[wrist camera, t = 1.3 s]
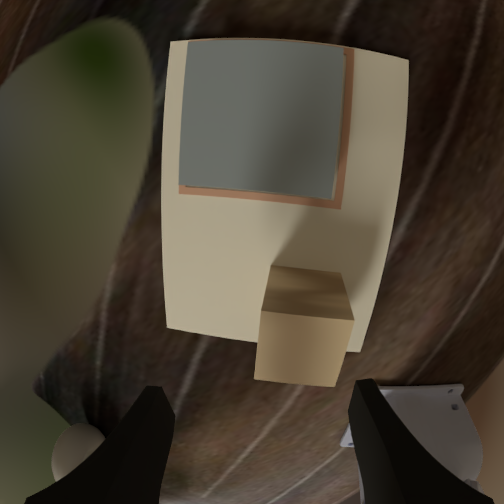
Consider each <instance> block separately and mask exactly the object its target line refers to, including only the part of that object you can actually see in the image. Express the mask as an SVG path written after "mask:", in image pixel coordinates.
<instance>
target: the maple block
mask: <svg viewBox="0 0 504 504" xmlns="http://www.w3.org/2000/svg"><path fill="white" fill-rule="evenodd" d="M354 322H355V320H354V316H353V312H352V309H351V305H350V302H349V299H348V295H347V292H346V288H345V285H344V282H343V279H342V275H341V273H338V272H329V271H320V270H311V269H302V268H293V267H284V266H276V265H271V266H270V271H269V276H268V280H267V285H266V290H265V294H264V299H263V304H262V308H261V315H260V325H259V335H258V345H257V355H256V364H255V374H254V379H258V380H265V381H273V382H282V383H292V384H302V385H314V386H328V387H335V384H336V381H337V378H338V375H339V372H340V369H341V366H342V363H343V359H344V356H345V353H346V350H347V346H348V343H349V339H350V336H351V332H352V329H353V325H354Z"/></svg>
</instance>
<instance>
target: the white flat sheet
mask: <svg viewBox="0 0 504 504" xmlns="http://www.w3.org/2000/svg"><path fill="white" fill-rule="evenodd" d="M208 40H274V41H290V42H301V43H311V44H320V45H328V46H335V47H341V48H344V51H343V75H342V93H341V108H340V121H339V133H338V144H337V154H336V164H335V173H334V182H333V190H332V198H331V199H329V198H321V197H312V196H304V195H295V194H286V193H276V192H266V191H255V190H244V189H232V188H219V187H205V186H189V185H178V183H179V152H180V131H181V114H182V100H183V87H184V76H185V65H186V55H187V46H188V42H192V41H208ZM408 81H409V60H406V59H402V58H399V57H395V56H391V55H386V54H382V53H377V52H373V51H368V50H363V49H358V48H352V47H346V46H340V45H333V44H326V43H318V42H309V41H299V40H286V39H269V38H214V39H196V40H184V41H174V42H171V44H170V53H169V62H168V71H167V82H166V94H165V108H164V124H163V145H162V187H161V212H162V254H163V276H164V293H165V307H166V320H167V328H172V329H177V330H183V331H188V332H194V333H199V334H205V335H211V336H217V337H224V338H230V339H237V340H244V341H251V342H258V335H259V325H260V315H261V308H262V304H263V299H264V294H265V290H266V285H267V280H268V276H269V271H270V266H271V265H276V266H284V267H293V268H302V269H311V270H320V271H329V272H338V273H341V275H342V279H343V282H344V285H345V288H346V292H347V295H348V299H349V302H350V305H351V309H352V312H353V316H354V320H355V322H354V325H353V329H352V332H351V336H350V339H349V343H348V346H347V350H346V351H349V352H360V350H361V347H362V344H363V341H364V338H365V335H366V331H367V328H368V325H369V321H370V318H371V315H372V311H373V308H374V304H375V300H376V297H377V293H378V289H379V285H380V281H381V277H382V273H383V269H384V264H385V260H386V256H387V251H388V246H389V242H390V237H391V232H392V227H393V221H394V216H395V210H396V204H397V198H398V192H399V185H400V178H401V170H402V162H403V154H404V144H405V134H406V121H407V106H408Z"/></svg>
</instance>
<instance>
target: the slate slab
mask: <svg viewBox="0 0 504 504" xmlns="http://www.w3.org/2000/svg"><path fill="white" fill-rule="evenodd" d="M343 51H344V48H341V47H335V46H328V45H320V44H311V43H301V42H290V41H274V40H208V41H192V42H188V46H187V55H186V65H185V76H184V87H183V100H182V114H181V131H180V152H179V183H178V185H189V186H205V187H219V188H232V189H244V190H255V191H266V192H276V193H286V194H295V195H304V196H312V197H321V198H329V199H331V198H332V190H333V182H334V173H335V164H336V154H337V144H338V133H339V121H340V108H341V93H342V75H343Z"/></svg>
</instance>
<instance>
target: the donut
mask: <svg viewBox="0 0 504 504" xmlns="http://www.w3.org/2000/svg"><path fill="white" fill-rule="evenodd" d="M104 440H105V436H104V435H103V434H102V433H101V431H100V430H99V429H98V428H96V427H94V426H92V425H90V424H87V423H79V424H74V425H72V426H71V427H69V428H67V429H66V430H65V431H64V432H63V433H62V434H61V436H60V437H59V438H58V440H57V442H56V444H55V447H54V451H53V455H52V470H53V474H54V478H55V480H56V482H57V481H58V480H60V479H61V478H63V477H64V476H66V475H67V474H68V473H70V472H71V471H72V470H73V469H75V468H76V467H77V466H78V465H79V464H81V463H82V462H83V461H84V460H85V459H86V458H87V457H88V456H89V455H91V454H92V453H93V452H94V451H95V450H96V449H97V448H98V446H99V445H100V444H101V443H102V442H103V441H104Z"/></svg>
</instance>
